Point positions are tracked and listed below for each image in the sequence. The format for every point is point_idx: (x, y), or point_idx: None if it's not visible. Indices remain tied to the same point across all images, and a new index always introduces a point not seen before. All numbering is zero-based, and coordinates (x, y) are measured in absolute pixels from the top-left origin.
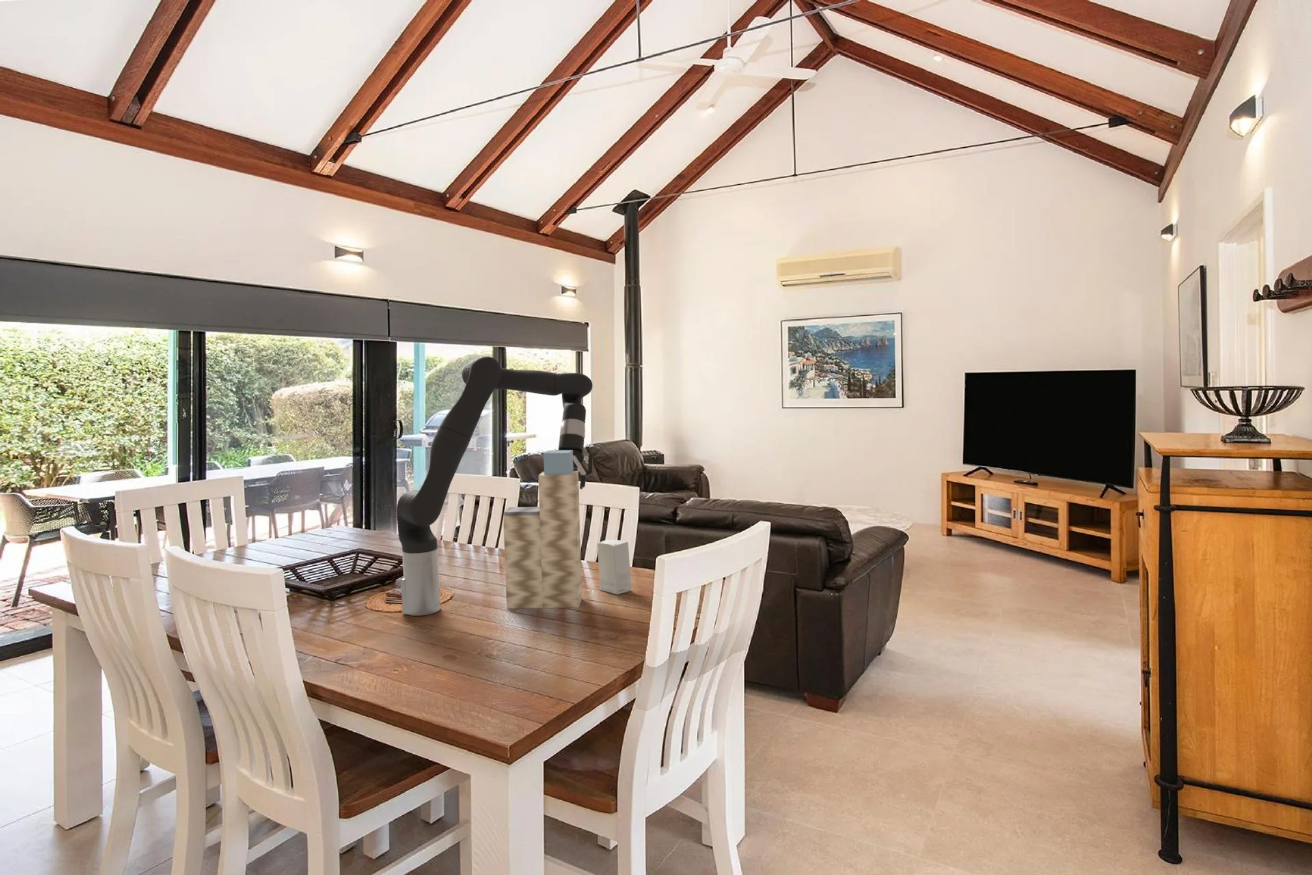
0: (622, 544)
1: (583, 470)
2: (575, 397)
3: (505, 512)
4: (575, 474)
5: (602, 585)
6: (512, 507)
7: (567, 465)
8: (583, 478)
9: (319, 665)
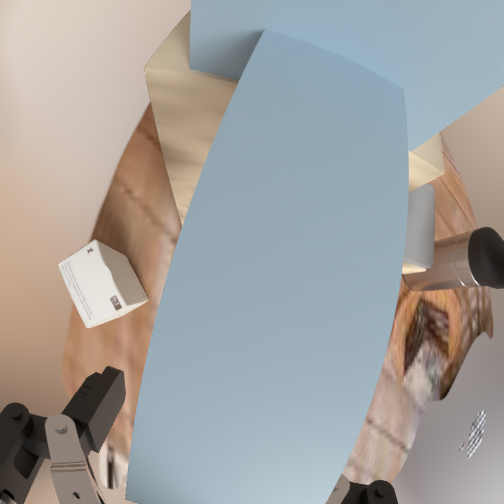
0: (74, 253)
1: (54, 447)
2: None
3: (430, 186)
4: None
5: (143, 291)
6: (425, 261)
7: None
8: (79, 409)
9: (444, 146)
